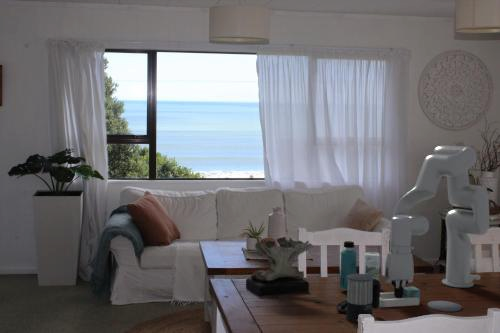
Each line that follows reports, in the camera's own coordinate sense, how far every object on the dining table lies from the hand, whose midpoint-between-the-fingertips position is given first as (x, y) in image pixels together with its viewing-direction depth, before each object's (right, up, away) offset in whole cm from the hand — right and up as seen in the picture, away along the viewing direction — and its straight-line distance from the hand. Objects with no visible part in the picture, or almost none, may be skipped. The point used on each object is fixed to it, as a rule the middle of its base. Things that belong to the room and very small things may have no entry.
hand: (398, 297), depth 244 cm
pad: (+16, -2, -5) cm, 17 cm away
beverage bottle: (-17, -1, +15) cm, 22 cm away
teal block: (+5, -2, +1) cm, 5 cm away
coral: (-42, 0, +14) cm, 45 cm away
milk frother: (-20, -3, -17) cm, 26 cm away
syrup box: (-7, 0, +19) cm, 20 cm away
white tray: (-1, -2, 0) cm, 2 cm away
